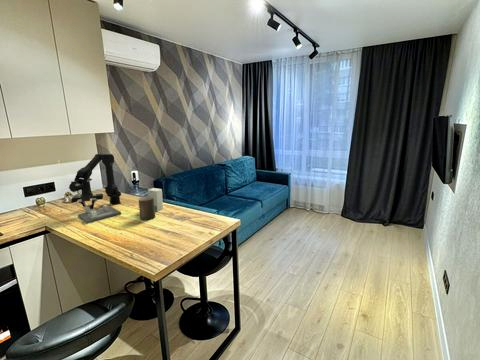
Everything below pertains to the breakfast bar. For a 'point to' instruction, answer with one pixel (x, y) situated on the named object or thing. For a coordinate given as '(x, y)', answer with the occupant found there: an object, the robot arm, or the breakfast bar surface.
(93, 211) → the fader
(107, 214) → the console
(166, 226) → the breakfast bar surface
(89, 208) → the dial
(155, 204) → the skincare box
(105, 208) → the fader
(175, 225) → the breakfast bar surface
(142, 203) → the pillar candle
